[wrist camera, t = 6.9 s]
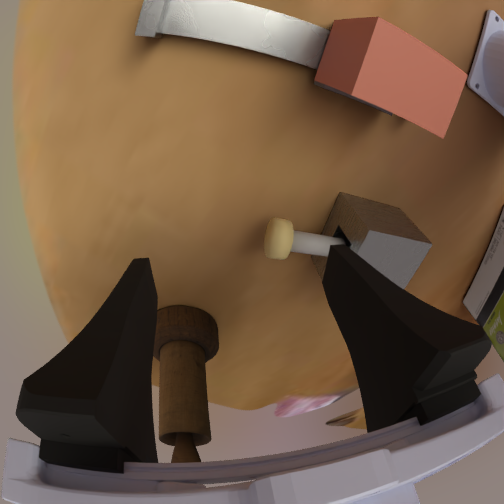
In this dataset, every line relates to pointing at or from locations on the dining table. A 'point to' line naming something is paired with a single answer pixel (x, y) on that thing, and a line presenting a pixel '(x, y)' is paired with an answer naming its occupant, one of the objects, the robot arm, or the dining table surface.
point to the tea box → (490, 291)
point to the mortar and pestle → (184, 378)
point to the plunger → (294, 240)
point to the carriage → (391, 72)
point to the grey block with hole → (376, 237)
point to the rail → (235, 27)
